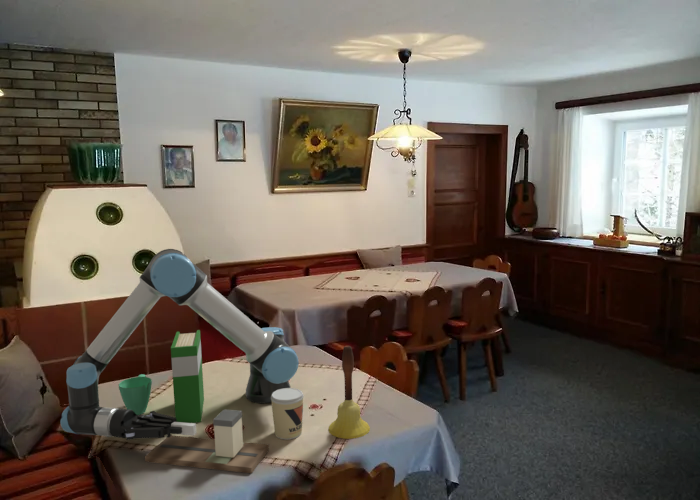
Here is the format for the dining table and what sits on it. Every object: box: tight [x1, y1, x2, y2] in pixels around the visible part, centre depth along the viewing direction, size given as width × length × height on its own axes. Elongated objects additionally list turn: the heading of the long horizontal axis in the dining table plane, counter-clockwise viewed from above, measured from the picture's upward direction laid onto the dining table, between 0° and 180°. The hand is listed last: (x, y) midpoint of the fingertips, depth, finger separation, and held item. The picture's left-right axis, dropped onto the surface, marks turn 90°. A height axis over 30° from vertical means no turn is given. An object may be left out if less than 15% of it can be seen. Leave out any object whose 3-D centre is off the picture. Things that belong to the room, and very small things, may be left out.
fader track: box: [144, 434, 270, 474], centre depth 145 cm, size 30×12×2 cm, turn 77°
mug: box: [118, 373, 153, 415], centre depth 175 cm, size 15×10×10 cm
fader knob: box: [212, 408, 244, 458], centre depth 143 cm, size 5×6×10 cm
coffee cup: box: [271, 387, 304, 440], centre depth 157 cm, size 9×9×12 cm
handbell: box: [327, 345, 371, 440], centre depth 158 cm, size 12×12×25 cm
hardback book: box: [170, 329, 205, 424], centre depth 172 cm, size 18×7×24 cm, turn 12°
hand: (194, 429), depth 145 cm, fingers closed
